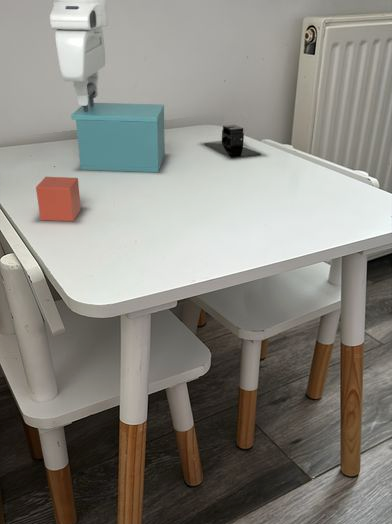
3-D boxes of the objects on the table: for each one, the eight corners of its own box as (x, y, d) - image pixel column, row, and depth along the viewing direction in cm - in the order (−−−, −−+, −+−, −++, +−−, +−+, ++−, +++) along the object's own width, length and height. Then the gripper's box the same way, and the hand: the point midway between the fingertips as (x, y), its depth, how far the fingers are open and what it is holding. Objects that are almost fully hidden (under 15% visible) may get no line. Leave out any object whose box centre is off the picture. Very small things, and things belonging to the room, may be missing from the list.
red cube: (40, 220, 83) (35, 187, 80) (49, 208, 87) (45, 176, 84) (73, 221, 83) (69, 188, 80) (81, 209, 87) (77, 177, 84)
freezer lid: (71, 119, 99) (68, 90, 97) (85, 106, 109) (83, 79, 106) (157, 122, 99) (156, 92, 96) (164, 109, 108) (163, 82, 106)
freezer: (80, 169, 104) (75, 120, 99) (93, 153, 114) (89, 107, 109) (158, 172, 104) (157, 122, 99) (164, 155, 113) (164, 109, 108)
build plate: (203, 144, 121) (204, 122, 119) (233, 141, 124) (234, 119, 122) (231, 158, 112) (233, 134, 110) (262, 155, 115) (264, 131, 112)
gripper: (76, 10, 104) (83, 90, 112) (46, 17, 87) (57, 111, 95) (110, 10, 104) (115, 91, 111) (86, 18, 87) (94, 112, 94)
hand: (88, 101), depth 103 cm, fingers closed on freezer lid, 6 cm apart
